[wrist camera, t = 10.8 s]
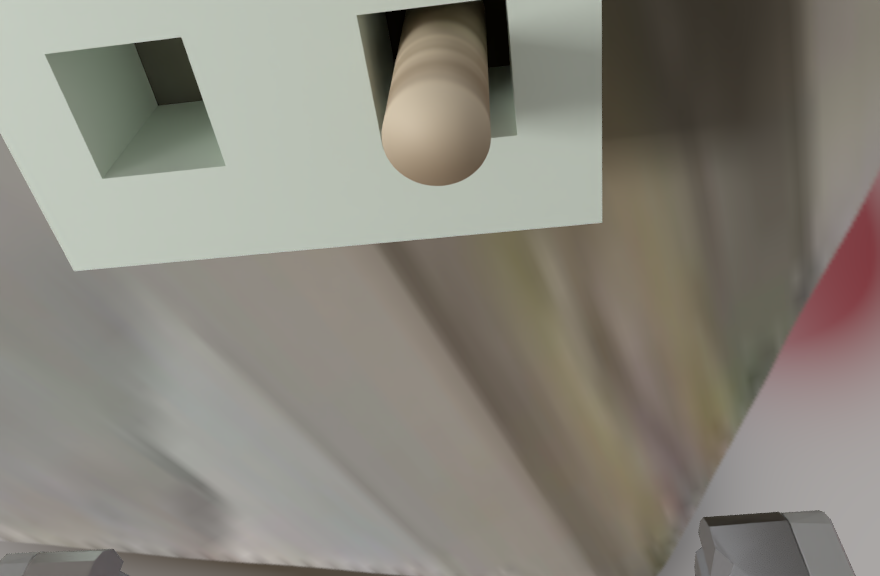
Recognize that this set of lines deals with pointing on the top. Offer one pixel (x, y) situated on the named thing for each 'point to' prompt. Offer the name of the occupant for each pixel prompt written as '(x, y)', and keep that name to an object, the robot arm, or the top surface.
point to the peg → (439, 95)
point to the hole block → (281, 128)
